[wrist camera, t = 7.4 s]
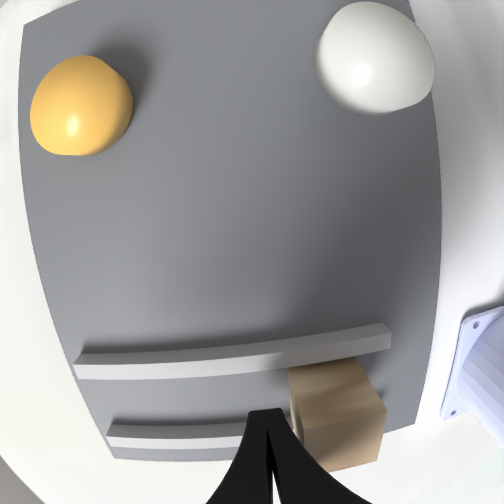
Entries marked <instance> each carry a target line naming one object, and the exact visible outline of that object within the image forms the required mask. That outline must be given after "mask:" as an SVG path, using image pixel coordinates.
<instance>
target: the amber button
mask: <svg viewBox="0 0 504 504" xmlns="http://www.w3.org/2000/svg"><path fill="white" fill-rule="evenodd" d="M132 110H133V97H132V92H131V89H130V87H129V85H128V83H127V81H126V80H125V79H124V78H123V77H122V76H121V75H120V74H118V73H117V72H116V71H115V70H113V69H112V68H111V67H110V66H108V65H107V64H106V63H104V62H103V61H102V60H100V59H98V58H96V57H93V56H88V55H80V56H74V57H71V58H68V59H66V60H64V61H62V62H60V63H59V64H57V65H56V66H55V67H53V68H52V69H51V70H50V71H49V72H48V73H47V74H46V76H45V77H44V78H43V79H42V81H41V82H40V84H39V86H38V87H37V90H36V92H35V94H34V97H33V100H32V104H31V110H30V123H31V128H32V132H33V134H34V136H35V138H36V140H37V142H38V143H39V144H40V145H41V146H42V147H43V148H44V149H46V150H47V151H49V152H51V153H55V154H60V155H76V156H91V155H96V154H99V153H101V152H103V151H105V150H107V149H109V148H110V147H111V146H112V145H114V144H115V143H116V142H117V141H118V140H119V139H120V137H121V136H122V135H123V133H124V132H125V130H126V128H127V126H128V124H129V122H130V119H131V115H132Z"/></svg>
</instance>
